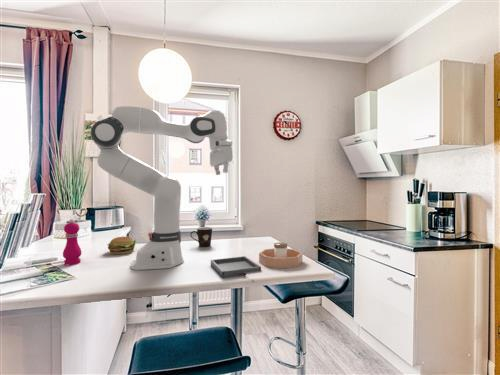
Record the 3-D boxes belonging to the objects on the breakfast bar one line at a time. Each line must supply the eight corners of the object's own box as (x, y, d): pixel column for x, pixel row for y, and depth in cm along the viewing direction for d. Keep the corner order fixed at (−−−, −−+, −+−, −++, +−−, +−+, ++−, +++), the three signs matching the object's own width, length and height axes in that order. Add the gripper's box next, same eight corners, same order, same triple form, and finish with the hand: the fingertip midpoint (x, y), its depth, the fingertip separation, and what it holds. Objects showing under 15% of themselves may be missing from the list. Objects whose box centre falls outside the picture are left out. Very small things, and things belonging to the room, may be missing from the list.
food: (103, 256, 145) (103, 240, 145) (111, 250, 159) (111, 235, 159) (133, 254, 148) (132, 239, 148) (138, 248, 162) (137, 234, 161)
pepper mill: (59, 264, 131) (58, 220, 130) (73, 260, 138) (73, 218, 137) (71, 266, 128) (70, 220, 128) (85, 261, 135) (84, 218, 135)
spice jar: (277, 264, 125) (277, 245, 125) (271, 261, 131) (271, 243, 131) (289, 262, 128) (289, 244, 127) (283, 259, 133) (283, 242, 133)
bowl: (271, 272, 118) (271, 260, 118) (254, 261, 134) (254, 250, 134) (308, 267, 124) (308, 255, 124) (288, 257, 141) (288, 247, 141)
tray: (222, 278, 111) (222, 271, 111) (210, 265, 128) (210, 259, 128) (261, 273, 117) (260, 266, 117) (245, 261, 134) (245, 256, 134)
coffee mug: (213, 244, 171) (213, 227, 170) (210, 247, 162) (210, 229, 162) (194, 244, 172) (194, 227, 172) (190, 247, 163) (189, 229, 163)
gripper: (205, 149, 148) (208, 176, 148) (220, 140, 130) (223, 171, 129) (217, 148, 151) (219, 175, 150) (233, 140, 133) (236, 171, 132)
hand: (221, 173), depth 140 cm, fingers open, 8 cm apart
